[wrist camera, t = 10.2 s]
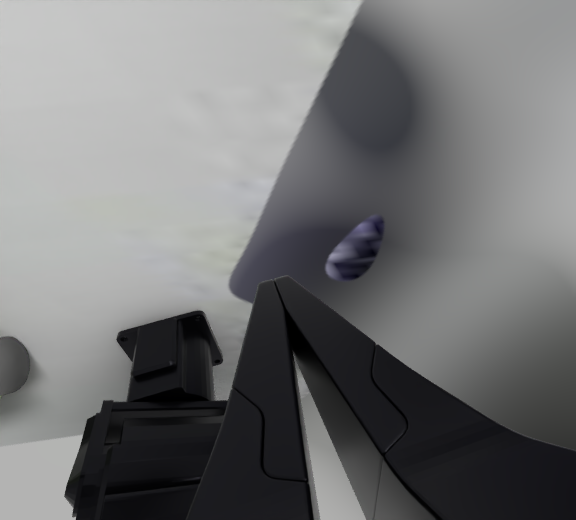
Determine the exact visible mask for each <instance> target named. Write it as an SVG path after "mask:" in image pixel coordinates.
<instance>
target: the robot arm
mask: <svg viewBox="0 0 576 520" xmlns="http://www.w3.org/2000/svg"><path fill="white" fill-rule="evenodd" d="M197 317H199V318H197ZM124 337H126V338H124ZM116 340H117V342H118V343H119V345H120V346H121V347H122V349H123V350H124V351H125V353H126V354H127V355H128V357H129V358H130V360H131V361H132V362H133V363H132V369H131V378H130V384H129V390H128V396H127V402H113V400H104V401H103V404H102V408H101V412H100V413H96V415H95V416H93V417H91V418H89V419H87V423H86V426H85V430H84V434H83V438H82V442H81V445H80V449H79V452H78V454H77V458H76V460H75V463H74V466H73V469H72V472H71V474H70V477H69V480H68V483H67V486H66V491H65V496H64V497H65V498H66V499H67V501H68V502H69V503H70V504H71V506H72V507H73V508H74V509H73V516H72V517H76V520H320V516H319V510H318V503H317V497H316V491H315V484H314V478H313V472H312V466H311V460H310V454H309V447H308V441H307V435H306V429H305V423H304V417H303V410H302V405H301V398H300V392H299V386H298V380H297V374H296V367H295V362H294V356H295V359H296V361H297V364H298V366H299V368H300V370H301V373H302V375H303V377H304V379H305V382H306V384H307V386H308V388H309V391H310V393H311V395H312V397H313V399H314V402H315V404H316V407H317V408H318V411H319V413H320V416H321V418H322V420H323V422H324V425H325V427H326V429H327V431H328V434H329V436H330V438H331V440H332V443H333V445H334V447H335V449H336V452H337V454H338V456H339V459H340V461H341V463H342V465H343V467H344V470H345V472H346V474H347V477H348V479H349V481H350V483H351V485H352V488H353V490H354V492H355V495H356V496H357V499H358V501H359V504H360V506H361V508H362V511H363V513H364V515H365V517H366V520H576V451H575V450H572V449H568V448H564V447H561V446H557V445H554V444H550V443H546V442H542V441H539V440H536V439H533V438H530V437H527V436H525V435H522V434H520V433H518V432H515V431H513V430H511V429H509V428H507V427H505V426H503V425H501V424H499V423H497V422H496V421H494V420H492V419H491V418H489V417H487V416H486V415H484V414H482V413H481V412H479V411H478V410H476V409H474V408H473V407H471V406H469V405H467V404H466V403H465V402H463V401H461V400H460V399H458V398H456V397H455V396H453V395H451V394H450V393H448V392H447V391H445V390H443V389H442V388H440V387H439V386H437V385H435V384H434V383H432V382H431V381H429V380H427V379H426V378H424V377H423V376H421V375H420V374H418V373H417V372H415V371H414V370H412V369H411V368H409V367H408V366H406V365H405V364H404V363H402V362H401V361H399V360H398V359H397V358H395V357H394V356H393V355H391V354H390V353H389V352H387V351H386V350H385V349H383V348H382V347H381V346H380V345H376V343H375V342H374V341H373V340H372V339H370V338H369V337H368V336H366V335H365V334H364V333H362V332H361V331H360V330H358V329H357V328H356V327H355V326H353V325H352V324H350V323H349V322H348V321H347V320H346V319H344V318H343V317H342V316H340V315H339V314H338V313H336V312H335V311H334V310H333V309H331V308H330V307H329V306H327V305H326V304H324V302H322V301H321V300H320V299H318V298H317V297H316V296H314V295H313V294H312V293H311V292H309V291H308V290H307V289H305V288H304V287H303V286H301V285H300V284H299V283H298V282H296V281H295V280H294V279H292V278H291V277H290V276H282V277H279V278H275V280H274V281H273V280H268V281H264V282H260V283H259V284H258V288H257V291H256V295H255V299H254V303H253V307H252V311H251V314H250V318H249V322H248V326H247V330H246V334H245V338H244V342H243V346H242V350H241V353H240V357H239V361H238V365H237V369H236V373H235V377H234V381H233V385H232V388H233V389H231V392H230V396H229V399H228V400H223V401H215V397H214V383H213V369H212V367H213V366H216V365H219V364H221V363H222V362H223V356H222V353H221V351H220V349H219V346H218V344H217V342H216V339H215V337H214V335H213V332H212V330H211V328H210V325H209V323H208V320H207V318H206V316H205V313H204V312H203V311H194V312H190V313H186V314H183V315H179V316H175V317H171V318H168V319H164V320H160V321H157V322H153V323H149V324H146V325H142V326H138V327H135V328H131V329H127V330H124V331H121V332H119V333H118V335H117V339H116ZM293 354H294V356H293Z"/></svg>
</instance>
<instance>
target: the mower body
mask: <svg viewBox="0 0 576 520" xmlns="http://www.w3.org/2000/svg"><path fill="white" fill-rule="evenodd" d="M29 367H30V364H29V357H28V354H27V351H26V349H25V347H24V346H23V345H22V344H21V343H20V342H19V341H18V340H16V339H14V338H12V337H1V338H0V399H1V397H2V395H5V394H8V393H12V392H15V391H17V390H18V389H20V388H21V387H22V386H23V385H24V383H25V381H26V380H27V377H28V374H29Z"/></svg>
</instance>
